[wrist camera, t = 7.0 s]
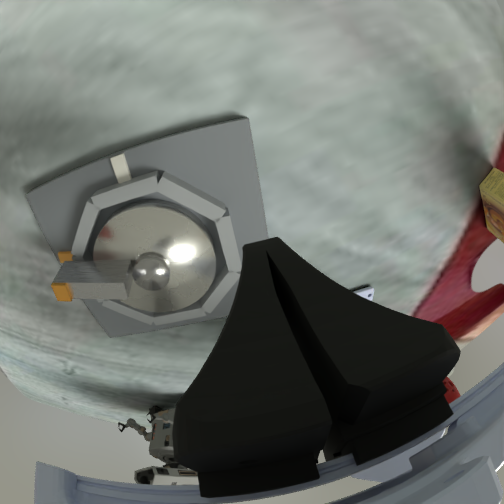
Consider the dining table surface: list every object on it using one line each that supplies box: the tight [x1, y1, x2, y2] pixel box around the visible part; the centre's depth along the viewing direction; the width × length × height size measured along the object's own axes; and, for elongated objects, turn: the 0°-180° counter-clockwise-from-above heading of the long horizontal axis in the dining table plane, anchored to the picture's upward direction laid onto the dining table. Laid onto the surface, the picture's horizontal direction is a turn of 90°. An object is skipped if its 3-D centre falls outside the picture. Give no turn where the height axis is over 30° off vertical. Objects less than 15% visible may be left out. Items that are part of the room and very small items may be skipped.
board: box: [26, 117, 269, 338], centre depth 19 cm, size 16×17×2 cm
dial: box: [51, 200, 216, 312], centre depth 18 cm, size 12×9×4 cm
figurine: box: [118, 406, 199, 485], centre depth 28 cm, size 9×12×15 cm
